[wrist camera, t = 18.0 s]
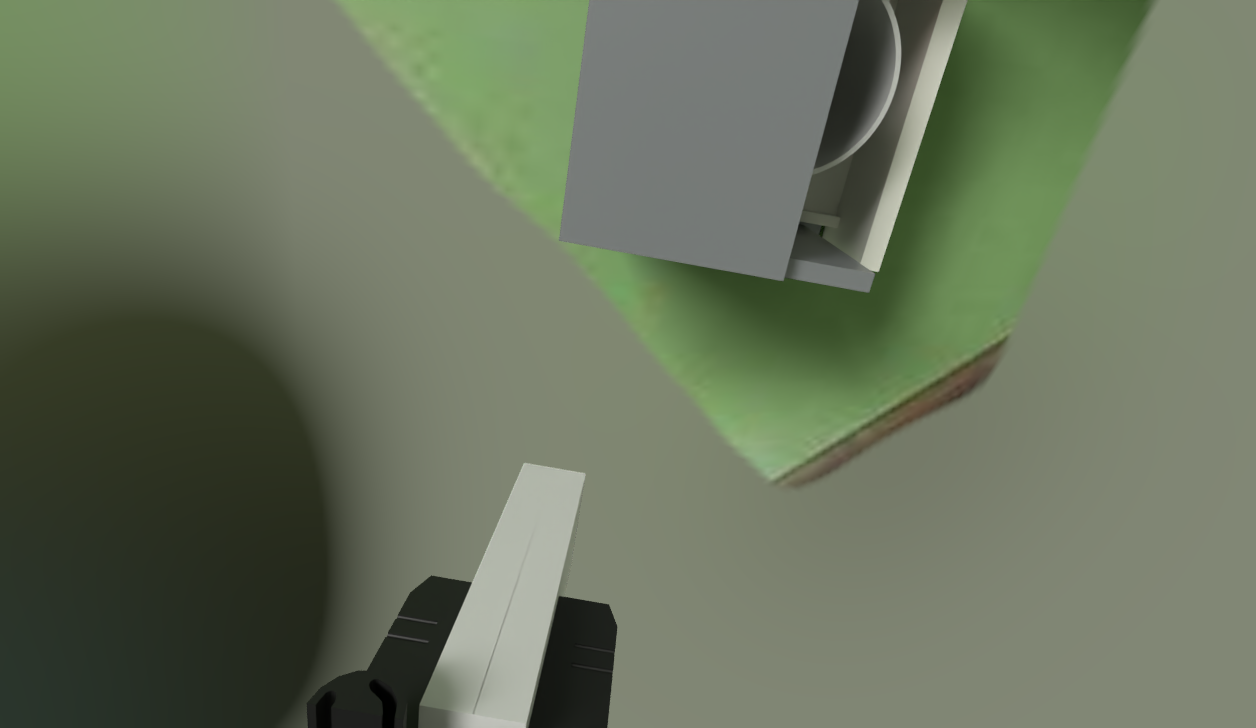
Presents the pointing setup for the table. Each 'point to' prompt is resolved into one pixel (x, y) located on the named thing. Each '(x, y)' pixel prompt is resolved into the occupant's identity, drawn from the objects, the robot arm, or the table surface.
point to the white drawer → (887, 140)
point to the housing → (708, 134)
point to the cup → (862, 83)
